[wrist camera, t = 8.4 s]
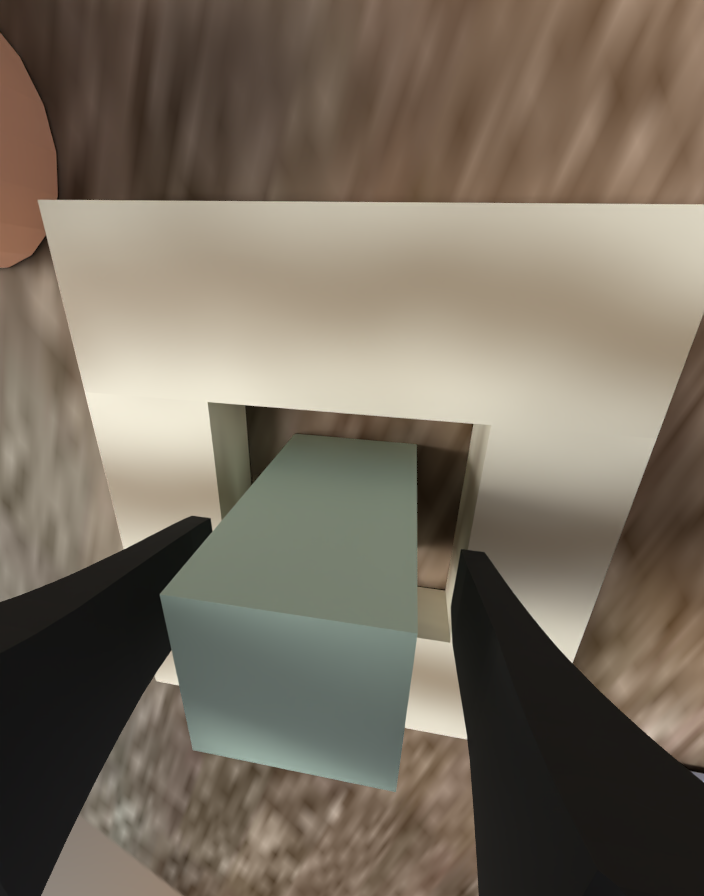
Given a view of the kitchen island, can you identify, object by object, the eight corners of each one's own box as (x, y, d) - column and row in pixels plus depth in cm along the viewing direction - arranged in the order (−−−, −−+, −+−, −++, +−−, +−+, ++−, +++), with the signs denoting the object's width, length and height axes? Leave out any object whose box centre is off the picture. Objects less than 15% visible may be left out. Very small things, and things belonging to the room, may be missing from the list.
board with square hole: (522, 690, 17) (538, 753, 15) (187, 633, 19) (156, 681, 17) (668, 224, 10) (743, 204, 8) (109, 216, 12) (37, 199, 10)
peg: (405, 547, 15) (395, 792, 8) (297, 533, 16) (192, 750, 8) (416, 444, 13) (417, 633, 6) (295, 433, 14) (159, 594, 7)
